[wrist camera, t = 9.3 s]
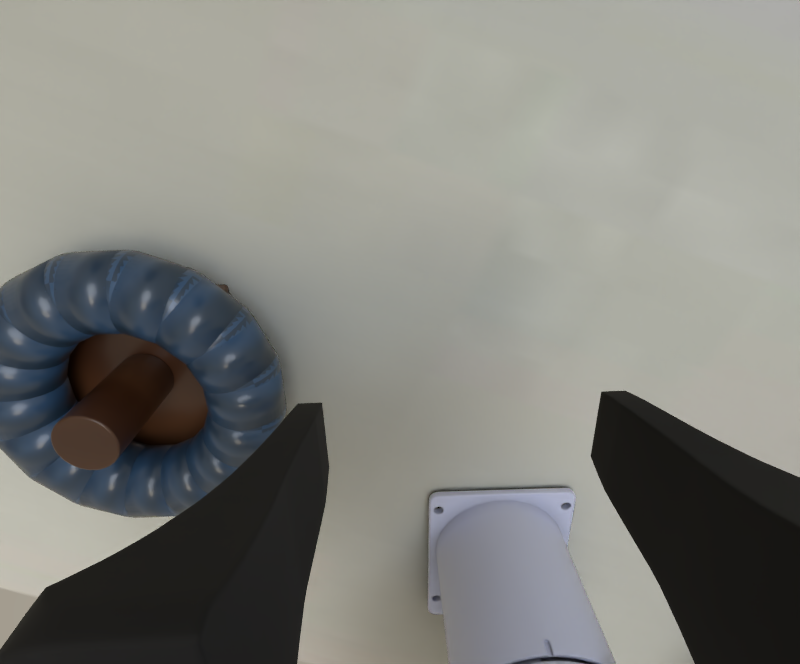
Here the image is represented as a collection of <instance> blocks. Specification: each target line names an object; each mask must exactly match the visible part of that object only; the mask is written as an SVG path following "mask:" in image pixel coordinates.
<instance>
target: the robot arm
mask: <svg viewBox="0 0 800 664" xmlns="http://www.w3.org/2000/svg"><path fill="white" fill-rule="evenodd" d="M591 458H592V460H593V463H594V465H595V468H596V471H597V473H598V476H599V478H600V480H601V483H602V485H603V487H604V490H605V492H606V493H607V495H608V497H609V499H610V500H611V502H612V504H613V506H614V507H615V509H616V511H617V513H618V514H619V516H620V518H621V519H622V521H623V523H624V524H625V526H626V528H627V530H628V531H629V533H630V535H631V536H632V538H633V540H634V541H635V543H636V545H637V546H638V548H639V550H640V552H641V553H642V555H643V557H644V558H645V560H646V562H647V563H648V565H649V567H650V568H651V570H652V572H653V574H654V576H655V578H656V580H657V581H658V583H659V585H660V587H661V589H662V591H663V594H664V596H665V598H666V600H667V602H668V604H669V606H670V609H671V611H672V613H673V615H674V617H675V619H676V622H677V624H678V626H679V628H680V630H681V633H682V635H683V637H684V640H685V642H686V644H687V647H688V649H689V651H690V654H691V656H692V658H693V661H694V663H695V664H800V477H797V476H795V475H792V474H790V473H788V472H785V471H783V470H781V469H778V468H776V467H773V466H771V465H769V464H766V463H764V462H762V461H760V460H757V459H755V458H753V457H751V456H749V455H747V454H745V453H743V452H741V451H739V450H737V449H734V448H732V447H730V446H728V445H726V444H724V443H722V442H720V441H718V440H716V439H715V438H713V437H711V436H709V435H707V434H705V433H703V432H701V431H699V430H698V429H696V428H694V427H692V426H690V425H688V424H687V423H685V422H683V421H681V420H679V419H678V418H676V417H674V416H672V415H670V414H669V413H667V412H665V411H663V410H661V409H660V408H658V407H656V406H654V405H652V404H651V403H649V402H647V401H645V400H643V399H641V398H639V397H637V396H635V395H633V394H631V393H629V392H627V391H608V392H601V398H600V404H599V410H598V416H597V422H596V428H595V434H594V440H593V446H592V452H591ZM328 473H329V462H328V453H327V444H326V435H325V426H324V417H323V409H322V403H304V404H297V405H296V406H295V407H294V408H293V410H292V411H291V412H290V413H289V414H288V415H287V416H286V418H285V419H284V420H283V421H282V422H281V423H280V424H279V426H278V427H277V428H276V429H275V430H274V431H273V432H272V434H271V435H270V436H269V437H268V438H267V439H266V440H265V441H264V442H263V443H262V444H261V445H260V446H259V447H258V449H257V450H256V451H255V452H254V453H253V454H252V455H251V456H250V457H249V458H248V459H247V460H246V461H245V462H244V463H243V464H241V465H240V466H239V467H238V468H237V469H236V470H235V471H234V472H233V473H232V474H231V475H230V476H229V477H228V478H226V479H225V480H224V481H223V482H222V483H221V484H219V485H218V486H217V487H216V488H214V489H213V490H212V491H211V492H209V493H208V494H207V495H205V496H204V497H203V498H202V499H200V500H199V501H198V502H196V503H195V504H194V505H192V506H191V507H189V508H188V509H186V510H185V511H183V512H182V513H180V514H179V515H177V516H176V517H175V518H173V519H172V520H170V521H169V522H167V523H166V524H164V525H163V526H161V527H160V528H158V529H157V530H155V531H153V532H152V533H150V534H148V535H147V536H145V537H143V538H142V539H140V540H138V541H137V542H135V543H133V544H131V545H130V546H128V547H126V548H124V549H123V550H121V551H119V552H117V553H115V554H113V555H112V556H110V557H108V558H106V559H104V560H102V561H100V562H98V563H96V564H94V565H92V566H90V567H88V568H86V569H84V570H82V571H80V572H78V573H76V574H74V575H72V576H70V577H68V578H65V579H63V580H61V581H59V582H57V583H55V584H53V585H51V586H48V587H46V588H45V589H44V591H43V592H42V593H41V594H40V596H39V597H38V599H37V600H36V601H35V602H34V604H33V605H32V606H31V608H30V609H29V611H28V612H27V613H26V614H25V616H24V617H23V619H22V620H21V621H20V623H19V624H18V626H17V627H16V628H15V630H14V631H13V633H12V634H11V635H10V637H9V638H8V640H7V641H6V642H5V644H4V645H3V646H2V648H1V649H0V664H297V659H298V650H299V642H300V633H301V625H302V617H303V609H304V602H305V596H306V590H307V585H308V580H309V576H310V571H311V567H312V562H313V558H314V553H315V549H316V544H317V540H318V535H319V531H320V526H321V522H322V517H323V513H324V508H325V503H326V494H327V484H328ZM575 501H576V495H575V493H574V492H573V490H572V489H570V488H541V489H509V490H477V491H445V492H434V493H433V494H431V495H430V497H429V535H428V611H429V612H430V613H432V614H436V615H437V614H443V618H444V627H445V635H446V644H447V653H448V661H449V664H616V662H615V660H614V657H613V655H612V652H611V650H610V648H609V645H608V643H607V641H606V638H605V636H604V634H603V631H602V629H601V626H600V624H599V622H598V619H597V617H596V615H595V612H594V610H593V607H592V605H591V603H590V600H589V598H588V596H587V593H586V591H585V588H584V586H583V584H582V581H581V579H580V577H579V574H578V572H577V570H576V567H575V565H574V562H573V560H572V558H571V555H570V553H569V551H568V548H567V546H568V541H569V535H570V529H571V524H572V518H573V512H574V506H575ZM564 503H566V504H564ZM562 504H564V505H562ZM436 507H441V508H439V509H436Z"/></svg>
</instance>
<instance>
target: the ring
mask: <svg viewBox="0 0 800 664" xmlns="http://www.w3.org/2000/svg"><path fill="white" fill-rule="evenodd" d="M103 334H126V335H129V336H132V337H136V338H139V339H142V340H145V341H149V342H152V343H155V344H157V345H159V346H160V347H161V348H163V349H164V350H166V351H167V352H169V353H170V354H172V355H173V356H174V357H176V358H177V359H179V360H180V361H182V362H183V363H184V364H185V365H186V366H187V367H188V369H189V370H190V371H191V373H192V374H193V376H194V377H195V378H196V380H197V381H198V383H199V384H200V385H201V387H202V388H203V391H204V396H205V400H206V405H207V409H208V412H207V416H206V420H205V424H204V426H203V428H202V429H201V430H200V431H199V432H198V433H197V434H196V435H195V436H194V437H192V438H190V439H187V440H185V441H183V442H180V443H178V444H168V445H148V444H144V443H140V442H137V441H133V440H132V441H131V443H130V444H129V445H128V446H127V448H126V449H125V450H124V452H123V453H122V454H121V455H120V457H119V458H118V459H117V460H116V462H115V463H113V464H112V465H111V466H108V467H106V468H104V469H100V470H86V469H81V468H78V467H75V466H73V465H71V464H69V463H67V462H66V461H64V460H63V459H62V458H61V457H60V456H59V455H58V454H57V453H56V451H55V450H54V448H53V446H52V442H51V433H52V429H53V427H54V426H55V424H56V423H57V422H58V421H59V420H60V419H61V418H62V417H64V416H65V415H66V414H67V413H68V412H69V411H70V410H71V409H72V408H73V407H74V406H75V405H76V404H78V403H79V402H78V401H77V399H76V398H75V395H74V392H73V389H72V386H71V384H70V381H69V378H68V375H67V374H68V365H69V357H70V354H71V353H72V352H73V350H74V349H75V348H76V346H77V345H78V344H79V343H80V342H82V341H84V340H86V339H88V338H90V337H93V336H95V335H103ZM285 414H286V400H285V393H284V386H283V379H282V372H281V366H280V362H279V358H278V356H277V354H276V352H275V351H274V349H273V347H272V346H271V344H270V343H269V341H268V339H267V338H266V336H265V335H264V333H263V331H262V330H261V328H260V327H259V325H258V323H257V322H256V320H255V319H254V317H253V316H252V314H251V313H250V312H249V310H248V309H246V308H245V307H244V306H243V305H242V304H241V303H239V302H238V301H237V300H235V299H234V298H233V297H232V296H230V295H229V294H228V293H226V292H225V291H224V290H222V289H221V288H220V287H219V286H217V285H216V284H215V283H213V282H212V281H211V280H210V279H208V278H207V277H206V276H204V275H202V274H201V273H199V272H198V271H195V270H193V269H190V268H187V267H184V266H181V265H178V264H175V263H172V262H169V261H166V260H163V259H160V258H157V257H154V256H151V255H149V254H146V253H142V252H138V251H128V250H116V251H86V252H71V253H65V254H61V255H59V256H56V257H54V258H52V259H50V260H48V261H46V262H44V263H42V264H40V265H38V266H36V267H34V268H32V269H30V270H28V271H26V272H24V273H22V274H20V275H18V276H16V277H14V278H12V279H11V280H9V281H8V282H6V283H5V284H4V285H3V286H2V287H1V288H0V449H1V450H2V451H3V452H4V453H5V454H6V455H7V456H8V457H9V458H10V459H11V460H12V461H13V462H14V463H15V464H16V465H17V466H18V467H19V468H20V469H21V470H22V471H23V472H24V473H25V474H26V475H27V476H28V477H30V478H31V479H32V480H34V481H36V482H37V483H39V484H41V485H43V486H45V487H46V488H48V489H50V490H52V491H54V492H55V493H57V494H59V495H61V496H63V497H65V498H66V499H68V500H70V501H72V502H74V503H76V504H79V505H81V506H84V507H89V508H93V509H97V510H101V511H105V512H109V513H113V514H117V515H121V516H126V517H133V518H140V517H164V516H177V515H179V514H180V513H182V512H183V511H185V510H186V509H188V508H189V507H191V506H192V505H194V504H195V503H196V502H198V501H199V500H200V499H202V498H203V497H204V496H205V495H207V494H208V493H209V492H211V491H212V490H213V489H214V488H216V487H217V486H218V485H219V484H221V483H222V482H223V481H224V480H225V479H226V478H228V477H229V476H230V475H231V474H232V473H233V472H234V471H235V470H236V469H237V468H238V467H239V466H240V465H241V464H243V463H244V462H245V461H246V460H247V459H248V458H249V457H250V456H251V455H252V454H253V453H254V452H255V451H256V450H257V449H258V447H259V446H260V445H261V444H262V443H263V442H264V441H265V440H266V439H267V438H268V437H269V436H270V435H271V434H272V432H273V431H274V430H275V429H276V428H277V427H278V426H279V424H280V423H281V422H282V421H283V420H284V419H285Z"/></svg>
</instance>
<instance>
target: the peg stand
mask: <svg viewBox="0 0 800 664" xmlns="http://www.w3.org/2000/svg"><path fill="white" fill-rule="evenodd" d="M217 286H219V287H220V288H221V289H222V290H224V291H225V292H226V293H228V294H229V291H228V286H227V285H217ZM67 375H68V378H69V381H70V384H71V386H72V389H73V392H74V395H75V398H76V399H77V401H78V402H79V403H78V404H76V405H75V406H74V407H73V408H72V409H71V410H70V411H69V412H68V413H67V414H66V415H65V416H64V417H62V418H61V419H60V420H59V421H58V422H57V423H56V424H55V426H54V427H53V429H52V433H51V442H52V446H53V448H54V450H55V451H56V453H57V454H58V455H59V456H60V457H61V458H62V459H63V460H64V461H66V462H67V463H69V464H71V465H73V466H75V467H78V468H81V469H86V470H100V469H104V468H106V467H108V466H111V465H112V464H113V463H115V462H116V460H117V459H118V458H119V457H120V455H121V454H122V453H123V452H124V450H125V449H126V448H127V446H128V445H129V444H130V443H131V441H132V440H133V441H137V442H140V443H144V444H148V445H168V444H178V443H180V442H183V441H185V440H187V439H190V438H192V437H194V436H195V435H196V434H197V433H198V432H199V431H200V430H201V429H202V428H203V426H204V424H205V420H206V416H207V412H208V409H207V405H206V400H205V396H204V391H203V388H202V387H201V385H200V384H199V383H198V381H197V380H196V378H195V377H194V376H193V374H192V373H191V371H190V370H189V369H188V367H187V366H186V365H185V364H184V363H183V362H182V361H180V360H179V359H177V358H176V357H174V356H173V355H172V354H170V353H169V352H167V351H166V350H164V349H163V348H161V347H160V346H159V345H157V344H155V343H152V342H149V341H145V340H142V339H139V338H136V337H132V336H129V335H126V334H103V335H95V336H93V337H90V338H88V339H86V340H84V341H82V342H80V343H79V344H78V345H77V346H76V348H75V349H74V350H73V352H72V353H71V354H70V357H69V365H68V374H67Z"/></svg>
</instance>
